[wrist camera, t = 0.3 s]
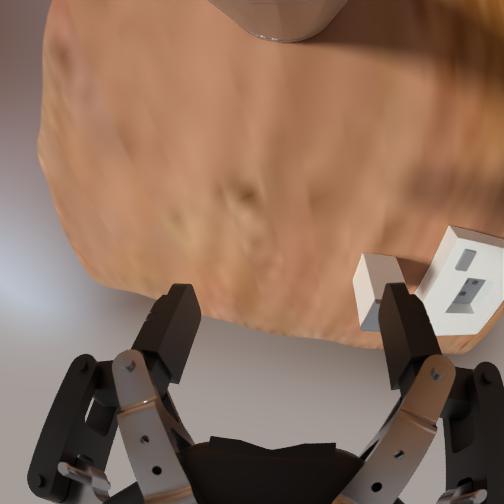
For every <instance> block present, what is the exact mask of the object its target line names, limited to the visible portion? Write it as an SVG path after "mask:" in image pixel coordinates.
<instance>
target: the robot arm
mask: <svg viewBox="0 0 504 504" xmlns="http://www.w3.org/2000/svg"><path fill="white" fill-rule="evenodd" d="M208 1H209V2H210V3H212V4H213V5H214V6H216V7H217V8H218V9H220V10H221V11H222V12H223V13H225V14H226V15H227V16H229V17H230V18H231V19H232V20H233V21H234V22H236V23H237V24H238V25H239V26H241V27H242V28H243V29H244V30H246V31H247V32H248V33H250V34H252V35H254V36H256V37H258V38H261V39H264V40H267V41H273V42H279V43H291V42H297V41H302V40H305V39H308V38H311V37H313V36H315V35H316V34H318V33H320V32H321V31H322V30H323V29H324V28H326V27H327V26H328V24H329V23H330V22H331V21H332V19H333V18H334V17H335V16H336V15H337V14H338V12H339V11H340V10H341V9H342V8H343V6H344V5H345V4H346V3H347V2H348V0H208ZM200 321H201V310H200V306H199V303H198V301H197V298H196V295H195V292H194V289H193V286H192V285H191V284H173V285H172V286H171V288H170V290H169V292H168V294H167V295H162V296H161V297H160V298H159V299H158V300H157V301H156V302H155V303H154V305H153V307H152V309H151V311H150V314H149V315H148V316H147V318H146V321H145V322H144V324H143V326H142V328H141V330H140V332H139V334H138V336H137V338H136V340H135V342H134V344H133V346H132V348H131V349H130V350H125V351H123V352H121V353H120V354H118V355H117V357H116V358H115V359H114V360H111V361H101V362H97V361H96V360H95V359H94V357H93V356H91V355H89V354H83V355H80V356H79V357H77V358H75V359H74V361H73V362H72V363H71V365H70V367H69V369H68V372H67V373H66V376H65V378H64V380H63V382H62V384H61V386H60V388H59V391H58V393H57V395H56V398H55V400H54V402H53V404H52V407H51V409H50V412H49V414H48V416H47V419H46V422H45V424H44V426H43V429H42V432H41V434H40V438H39V440H38V443H37V446H36V449H35V451H34V454H33V458H32V461H31V464H30V467H29V471H28V475H27V481H28V485H29V488H30V489H31V491H32V492H33V493H34V494H35V495H36V496H38V497H40V498H43V499H46V500H49V501H51V502H53V503H56V504H404V503H403V502H402V501H401V500H400V499H399V498H398V496H399V495H400V493H401V492H402V490H403V489H404V487H405V486H406V485H407V483H408V482H409V480H410V478H411V477H412V475H413V474H414V472H415V471H416V469H417V467H418V466H419V464H420V462H421V461H422V459H423V457H424V455H425V454H426V452H427V450H428V448H429V446H430V444H431V443H432V441H433V439H434V437H435V435H436V432H437V426H436V422H437V420H438V418H439V417H440V418H443V426H444V438H445V451H446V452H445V454H446V492H445V493H443V494H442V495H441V497H440V498H439V499H438V501H437V503H436V504H504V386H503V382H502V379H501V375H500V372H499V370H498V369H497V367H496V366H495V365H494V364H492V363H490V362H482V363H480V364H479V365H478V366H477V367H476V368H475V369H474V370H472V369H466V368H459V367H455V366H454V364H453V363H452V361H451V360H450V359H448V358H447V357H446V356H443V355H442V353H441V350H440V347H439V344H438V341H437V338H436V335H435V333H434V330H433V327H432V324H431V323H430V319H429V316H428V315H427V311H426V309H425V306H424V304H423V302H422V301H421V300H420V299H419V298H418V297H417V296H416V295H415V294H411V295H410V294H409V292H408V289H407V287H406V284H405V283H404V282H397V283H386V285H385V288H384V292H383V296H382V300H381V303H380V307H379V312H378V322H379V327H380V332H381V336H382V341H383V346H384V351H385V355H386V361H387V367H388V372H389V378H390V385H391V390H395V389H400V392H401V396H400V398H399V399H398V401H397V403H396V405H395V406H394V408H393V409H392V411H391V413H390V414H389V416H388V417H387V419H386V421H385V422H384V424H383V425H382V427H381V428H380V430H379V431H378V433H377V434H376V436H375V437H374V438H373V439H372V440H371V441H370V443H369V444H368V445H367V447H366V448H365V449H364V451H363V452H362V453H361V454H360V456H359V457H357V456H356V455H354V454H352V453H350V452H348V451H345V450H341V449H337V448H336V443H315V444H301V445H296V446H292V447H286V448H281V449H275V450H269V449H266V448H263V447H259V446H256V445H253V444H250V443H247V442H244V441H242V440H236V439H228V438H221V437H214V436H211V437H210V441H209V442H204V443H199V444H195V443H194V441H193V440H192V438H191V436H190V435H189V433H188V432H187V430H186V429H185V427H184V425H183V423H182V421H181V419H180V417H179V414H178V412H177V410H176V408H175V405H174V403H173V401H172V398H171V396H170V393H169V391H168V386H169V383H175V384H179V382H180V379H181V376H182V373H183V370H184V367H185V364H186V361H187V359H188V356H189V353H190V349H191V347H192V344H193V341H194V338H195V335H196V333H197V330H198V327H199V324H200ZM92 397H93V398H94V402H93V404H92V407H91V410H90V412H89V415H88V418H87V420H86V423H85V415H86V412H87V410H88V407H89V405H90V402H91V400H92ZM118 425H119V428H120V432H121V436H122V439H123V442H124V445H125V448H126V452H127V454H128V458H129V461H130V463H131V466H132V469H133V472H134V474H135V477H136V479H137V481H136V482H135V483H133V484H132V485H130V486H128V487H127V488H125V489H124V490H122V491H120V492H118V493H117V494H115V495H114V496H112V497H110V496H109V494H108V490H109V489H110V487H111V485H110V482H109V481H108V479H107V476H106V475H105V473H104V471H105V468H106V464H107V460H108V457H109V454H110V450H111V446H112V444H113V440H114V437H115V434H116V431H117V427H118Z"/></svg>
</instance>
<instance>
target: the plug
mask: <svg viewBox="0 0 504 504" xmlns="http://www.w3.org/2000/svg"><path fill="white" fill-rule="evenodd" d="M397 282H404V283H405V280H404V277H403V275H402V272H401V269H400V267H399V264H398V262H397V259H396V257H393V256H386V255H378V254H371V253H362V256H361V259H360V262H359V264H358V267H357V270H356V272H355V275H354V277H353V285H354V291H355V296H356V302H357V308H358V314H359V321H360V327H361V331H374V332H380V327H379V322H378V312H379V307H380V303H381V300H382V296H383V292H384V288H385V285H386V283H397ZM405 284H406V283H405ZM406 287H407V286H406ZM407 289H408V288H407ZM408 292H409V291H408Z"/></svg>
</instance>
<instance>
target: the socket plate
mask: <svg viewBox="0 0 504 504" xmlns="http://www.w3.org/2000/svg"><path fill="white" fill-rule="evenodd" d="M414 294H415V295H416V296H417V297H418V298H419V299H420V300H421V301H422V302H423V304H424V306H425V309H426V311H427V315H428V316H429V319H430V323H431V324H432V327H433V330H434V333H435V335H469V334H477V333H478V332H479V331H480V330H481V329H482V327H483V326H484V325H485V324H486V322H487V321H488V320H489V319H490V317H491V316H492V315H493V314H494V312H495V311H496V310H497V308H498V307H499V306H500V304H501V303H502V301H503V300H504V239H501V238H497V237H494V236H490V235H486V234H483V233H479V232H475V231H471V230H467V229H463V228H459V227H455V226H451V225H449V226H448V228H447V231H446V233H445V235H444V237H443V240H442V242H441V244H440V246H439V248H438V250H437V252H436V254H435V256H434V258H433V260H432V262H431V264H430V266H429V268H428V270H427V272H426V274H425V276H424V277H423V279H422V281H421V283H420V285H419V286H418V288H417V290H416V292H415V293H414Z"/></svg>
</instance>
